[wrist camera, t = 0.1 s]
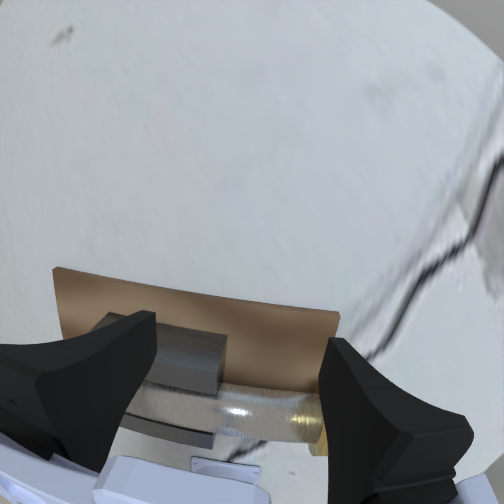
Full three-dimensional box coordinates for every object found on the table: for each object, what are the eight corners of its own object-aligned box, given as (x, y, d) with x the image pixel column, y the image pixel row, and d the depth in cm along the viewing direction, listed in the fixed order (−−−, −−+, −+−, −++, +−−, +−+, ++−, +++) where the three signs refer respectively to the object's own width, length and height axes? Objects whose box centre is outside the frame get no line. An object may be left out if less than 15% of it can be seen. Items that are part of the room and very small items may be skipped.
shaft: (322, 417, 23) (329, 470, 18) (144, 390, 24) (119, 437, 18) (341, 366, 22) (355, 421, 16) (138, 336, 22) (105, 382, 17)
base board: (301, 432, 26) (301, 438, 25) (79, 385, 27) (76, 389, 26) (338, 311, 22) (340, 316, 21) (57, 266, 23) (52, 269, 22)
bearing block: (220, 411, 25) (212, 449, 20) (119, 387, 25) (99, 419, 21) (227, 334, 22) (217, 372, 18) (109, 311, 23) (80, 339, 18)
